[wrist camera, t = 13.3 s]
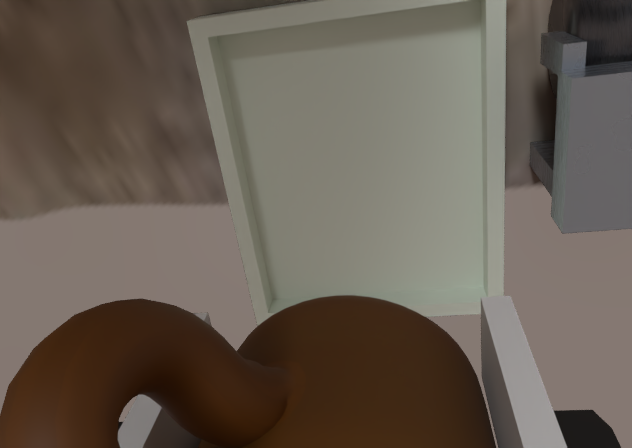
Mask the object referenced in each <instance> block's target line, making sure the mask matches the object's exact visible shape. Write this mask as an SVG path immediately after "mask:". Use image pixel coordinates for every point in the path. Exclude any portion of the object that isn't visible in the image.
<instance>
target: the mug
mask: <svg viewBox="0 0 632 448" xmlns="http://www.w3.org/2000/svg"><path fill="white" fill-rule="evenodd" d="M137 395H145V396H147V397H149V398H151V399H152V400H153V401H155V402H156V403H157V404H158V405H160V406H161V407H162V408H163V409H164V410H165V411H166V413H167V414H168V415H169V416H170V417H171V418H172V419H173V420H174V421H176V422H177V423H178V424H179V425H180V426H181V427H182V428H183V429H185V430H186V431H188V432H189V433H191V434H192V435H194V436H195V437H197V438H199V439H201V441H200V443H199V446H198V448H496V445H495V441H494V437H493V433H492V429H491V424H490V420H489V416H488V412H487V408H486V404H485V401H484V397H483V394H482V391H481V387H480V384H479V381H478V378H477V375H476V373H475V371H474V369H473V367H472V365H471V364H470V362H469V360H468V358H467V356H466V355H465V353H464V352H463V351H462V349H461V348H460V347H459V345H458V344H457V343H456V342H455V341H454V339H453V338H452V337H451V336H450V335H449V334H448V333H447V332H445V331H444V330H443V329H442V328H440V327H439V326H438V325H437V324H435V323H434V322H432V321H431V320H429V319H428V318H426V317H424V316H423V315H421V314H419V313H417V312H415V311H413V310H411V309H409V308H407V307H404V306H402V305H399V304H396V303H393V302H390V301H387V300H382V299H378V298H373V297H366V296H356V295H335V296H328V297H320V298H315V299H311V300H307V301H303V302H301V303H298V304H295V305H293V306H290V307H288V308H285V309H283V310H281V311H279V312H278V313H276V314H274V315H272V316H270V317H269V318H268V319H266V320H265V321H264V322H262V323H261V324H260V325H258V326H257V328H255V329H254V330H253V331H252V332H251V334H250V335H249V336H248V337H247V338H246V340H245V341H244V342H243V344H242V345H241V346H240V348H239V349H238V350H237V351H235V349H234V348H233V347H232V346H231V345H230V344H229V343H228V342H227V341H226V340H225V338H224V337H223V336H221V335H220V334H219V333H218V332H217V331H216V330H214V328H213V327H212V326H210V325H209V324H208V323H206V322H205V321H203V320H202V319H200V318H199V317H198V316H196V315H195V314H193V313H190V312H188V311H185V310H184V309H181V308H179V307H177V306H174V305H170V304H166V303H161V302H156V301H151V300H146V299H131V300H120V301H114V302H110V303H105V304H101V305H99V306H96V307H94V308H91V309H89V310H86V311H84V312H81V313H78V314H76V315H74V316H73V317H71V318H70V319H69V320H68V321H66V322H65V323H64V324H62V325H61V326H60V327H59V328H57V329H56V330H55V331H53V332H52V333H51V334H50V335H48V337H46V338H45V339H44V340H43V341H42V342H40V343H39V344H38V346H36V347H35V348H34V349H33V350H32V352H31V353H30V355H29V356H28V358H27V359H26V361H25V362H24V364H23V365H22V367H21V368H20V370H19V371H18V373H17V374H16V376H15V377H14V378H13V380H12V381H11V383H10V384H9V386H8V390H7V393H6V397H5V400H4V404H3V408H2V411H1V414H0V448H120V445H119V442H118V423H119V417H120V415H121V413H122V411H123V408H124V407H125V406H126V404H127V403H128V402H129V401H130V400H131V399H132V398H133V397H135V396H137Z"/></svg>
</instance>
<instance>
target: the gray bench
mask: <svg viewBox="0 0 632 448" xmlns="http://www.w3.org/2000/svg"><path fill="white" fill-rule="evenodd" d="M540 63H541V64H542V65H544V66H545V67H546V68H548V69H549V76H550V81H551V86H552V89H553V93H554V95H555V98H556V100H557V107H556V127H555V140H549V141H539V142H530V166H531V168H532V169H533V170H534V172H535V173H536V175H537V176H538V178H539V179H540V181H541V182H542V183H543V185H544V186H545V188H546V189H547V191H548V192H549V193H550V195H551V196H552V208H551V209H552V210H551V216H552V218H553V220H554V221H555V223H556V224H557V226H558V227H559V229H560V230H561V232H562V233H577V232H591V231H604V230H619V229H632V0H553V1H552V5H551V10H550V16H549V23H548V33H542V34H541V62H540Z"/></svg>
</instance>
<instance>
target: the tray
mask: <svg viewBox="0 0 632 448" xmlns="http://www.w3.org/2000/svg"><path fill="white" fill-rule="evenodd" d="M187 26H188V30H189V34H190V39H191V43H192V47H193V52H194V56H195V60H196V64H197V69H198V73H199V77H200V82H201V86H202V90H203V95H204V99H205V103H206V107H207V112H208V116H209V120H210V125H211V129H212V133H213V138H214V142H215V146H216V151H217V155H218V159H219V163H220V168H221V172H222V176H223V181H224V185H225V189H226V194H227V198H228V202H229V206H230V211H231V215H232V219H233V223H234V228H235V232H236V237H237V241H238V245H239V249H240V254H241V258H242V262H243V267H244V271H245V275H246V279H247V284H248V288H249V292H250V297H251V301H252V305H253V310H254V314H255V318H256V323H257V325H260V324H261V323H262V322H264V321H265V320H266V319H268V318H269V317H270V316H272V315H274V314H276V313H278V312H279V311H281V310H283V309H285V308H288V307H290V306H293V305H295V304H298V303H301V302H303V301H307V300H311V299H315V298H320V297H328V296H335V295H356V296H366V297H373V298H378V299H382V300H387V301H390V302H393V303H396V304H399V305H402V306H404V307H407V308H409V309H411V310H413V311H415V312H417V313H419V314H421V315H423V316H424V317H437V316H457V315H476V314H481V297H494V296H504V207H505V194H504V193H505V90H506V0H307V1H300V2H293V3H286V4H280V5H273V6H266V7H259V8H253V9H246V10H239V11H233V12H226V13H219V14H212V15H206V16H199V17H197V18H194V19H191V20H188V21H187Z"/></svg>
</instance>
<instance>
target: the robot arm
mask: <svg viewBox="0 0 632 448" xmlns="http://www.w3.org/2000/svg"><path fill="white" fill-rule="evenodd" d="M193 314H195V315H196V316H198V317H199V318H200V319H202V320H203V321H205V322H206V323H208V324H209V325H210V326H211V323H210V318H209V315H208V313H193ZM481 348H482V349H481V352H482V354H481V356H482V379H483V383H484V388H485V392H486V396H487V401H488V405H489V409H490V414H491V418H492V422H493V427H494V431H495V434H496V439H497V443H498V447H499V448H621V447H620V444H619V442H618V440H617V438H616V436H615V434H614V432H613V430H612V428H611V427H610V426H609V425H608V424H607V423H606V422H604V421H603V420H602V419H601V418H600V417H599V416H598V415H597V414H596V413H595V412H594V411H593V410H569V411H553V408H552V405H551V403H550V400H549V397H548V395H547V392H546V390H545V387H544V384H543V381H542V379H541V376H540V374H539V371H538V368H537V365H536V363H535V360H534V357H533V355H532V352H531V349H530V347H529V344H528V341H527V339H526V336H525V333H524V331H523V328H522V325H521V323H520V320H519V317H518V314H517V312H516V309H515V306H514V304H513V301H512V298H511V296H494V297H481ZM200 441H201V439H199V438H197V437H195V436H194V435H192V434H191V433H189V432H188V431H186V430H185V429H183V428H182V427H181V426H180V425H179V424H178V423H177V422H176V421H174V420H173V419H172V418H171V417H170V416H169V415H168V414H167V413H166V411H165V410H164V409H163V408H162V407H161V406H160V405H158V404H157V403H156V402H155V401H153V400H152V399H151V398H149V397H147V396H145V395H138V396H137V398H136V400H135V402H134V404H133V406H132V407H131V409H130V411H129V413H128V415H127V416H126V418H125V420H124V422H119V423H118V442H119V445H120V448H198V446H199V443H200Z"/></svg>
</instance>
